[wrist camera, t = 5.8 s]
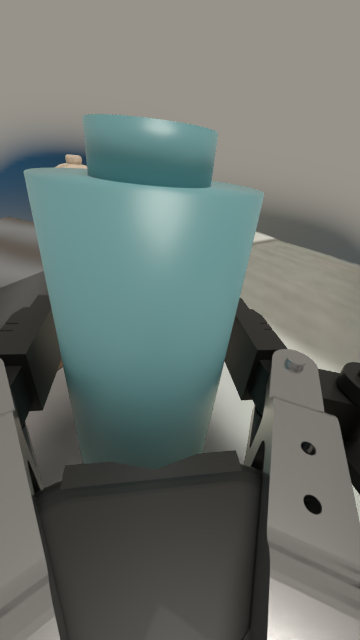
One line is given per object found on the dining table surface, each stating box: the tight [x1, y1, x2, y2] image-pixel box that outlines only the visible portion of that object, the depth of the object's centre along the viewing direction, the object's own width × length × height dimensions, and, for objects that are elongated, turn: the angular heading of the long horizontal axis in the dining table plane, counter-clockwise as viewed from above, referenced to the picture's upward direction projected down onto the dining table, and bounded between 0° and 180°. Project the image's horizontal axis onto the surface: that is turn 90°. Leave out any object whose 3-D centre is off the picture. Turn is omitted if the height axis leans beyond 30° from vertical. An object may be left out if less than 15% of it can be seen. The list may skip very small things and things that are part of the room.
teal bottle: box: [24, 114, 264, 469], centre depth 9 cm, size 5×5×13 cm
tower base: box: [0, 217, 63, 370], centre depth 21 cm, size 16×16×6 cm
